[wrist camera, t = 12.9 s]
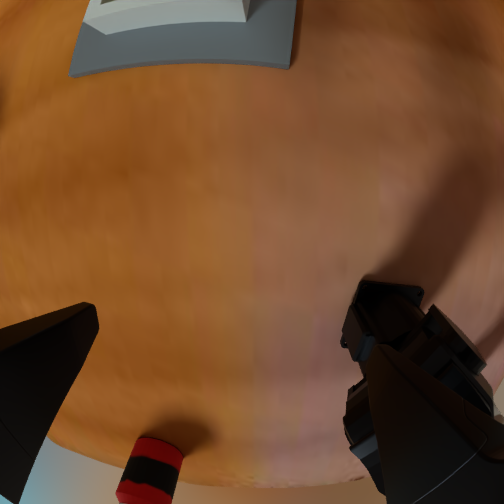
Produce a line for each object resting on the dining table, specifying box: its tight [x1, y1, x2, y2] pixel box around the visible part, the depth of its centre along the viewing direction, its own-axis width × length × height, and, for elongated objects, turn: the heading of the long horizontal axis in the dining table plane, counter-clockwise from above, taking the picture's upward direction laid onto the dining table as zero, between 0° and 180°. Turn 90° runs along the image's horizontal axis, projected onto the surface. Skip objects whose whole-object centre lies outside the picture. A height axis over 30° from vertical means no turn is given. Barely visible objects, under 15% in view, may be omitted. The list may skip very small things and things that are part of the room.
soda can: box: [116, 437, 183, 504], centre depth 26 cm, size 8×8×12 cm
